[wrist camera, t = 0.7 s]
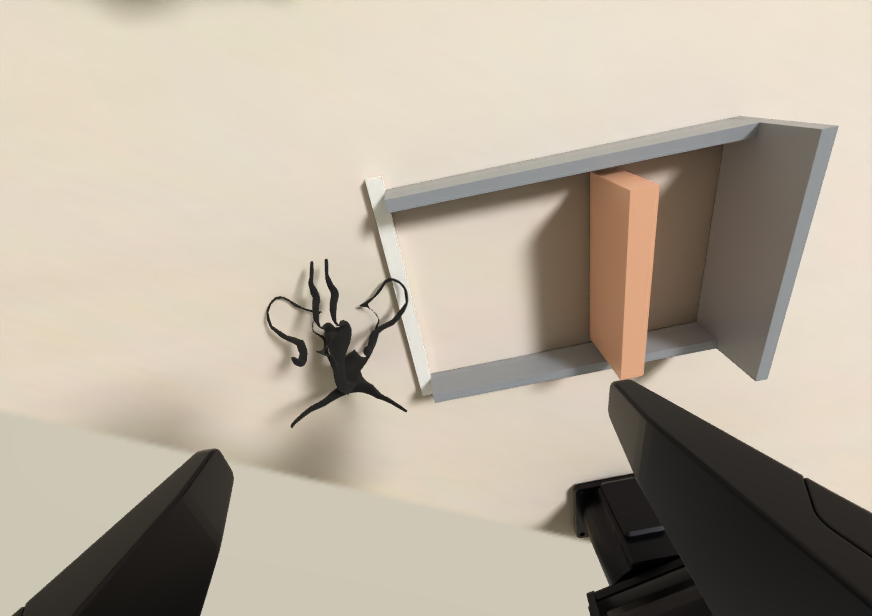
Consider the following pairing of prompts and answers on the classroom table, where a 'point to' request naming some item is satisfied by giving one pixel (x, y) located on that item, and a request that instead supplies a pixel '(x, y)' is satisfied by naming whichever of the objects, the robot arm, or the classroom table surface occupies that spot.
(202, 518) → the robot arm
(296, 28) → the classroom table surface
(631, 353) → the tall tan plank
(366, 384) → the creature
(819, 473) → the classroom table surface
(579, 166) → the frame
